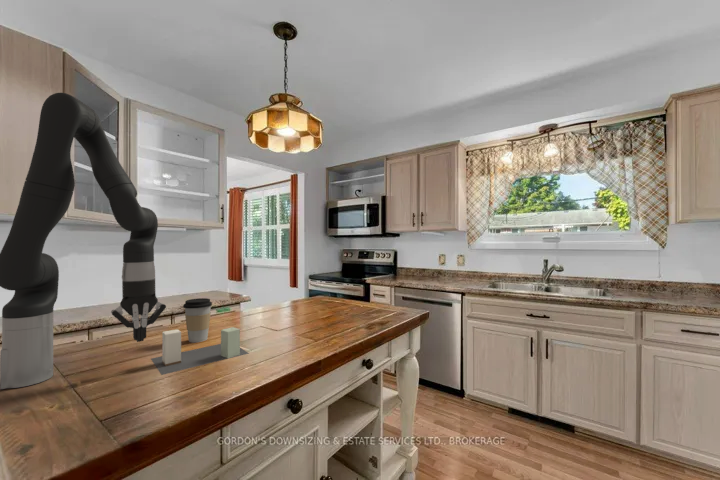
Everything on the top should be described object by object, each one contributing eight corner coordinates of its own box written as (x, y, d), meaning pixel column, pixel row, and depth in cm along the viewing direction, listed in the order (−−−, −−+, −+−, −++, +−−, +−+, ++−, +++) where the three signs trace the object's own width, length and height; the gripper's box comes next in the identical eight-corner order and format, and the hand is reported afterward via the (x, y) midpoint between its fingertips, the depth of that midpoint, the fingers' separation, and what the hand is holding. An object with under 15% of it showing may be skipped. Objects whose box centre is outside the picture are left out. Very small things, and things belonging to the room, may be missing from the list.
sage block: (227, 358, 96) (227, 332, 96) (221, 355, 99) (221, 329, 99) (239, 354, 99) (239, 329, 99) (232, 352, 102) (232, 327, 102)
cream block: (165, 366, 90) (165, 334, 90) (162, 362, 93) (162, 331, 93) (181, 362, 93) (181, 331, 93) (177, 359, 96) (177, 329, 96)
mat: (161, 377, 84) (161, 374, 84) (150, 360, 96) (150, 358, 96) (249, 355, 100) (249, 353, 101) (230, 343, 112) (230, 341, 112)
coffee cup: (217, 338, 118) (217, 298, 119) (202, 346, 109) (202, 302, 109) (193, 337, 119) (193, 297, 120) (176, 345, 110) (176, 302, 110)
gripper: (110, 281, 80) (111, 350, 80) (169, 277, 89) (170, 338, 89) (107, 279, 86) (108, 343, 86) (163, 275, 95) (164, 333, 95)
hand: (140, 340), depth 88 cm, fingers closed
